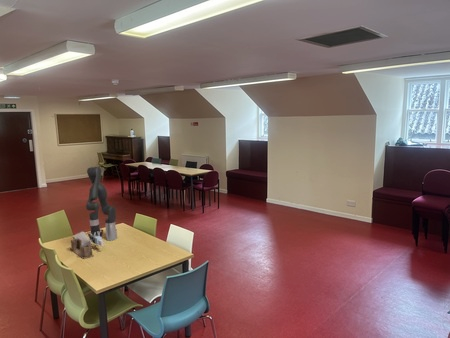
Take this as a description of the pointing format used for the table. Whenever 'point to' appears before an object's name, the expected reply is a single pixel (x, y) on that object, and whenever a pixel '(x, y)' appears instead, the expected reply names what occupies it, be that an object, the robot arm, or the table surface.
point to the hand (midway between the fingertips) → (96, 242)
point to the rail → (98, 240)
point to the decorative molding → (83, 238)
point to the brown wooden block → (81, 249)
